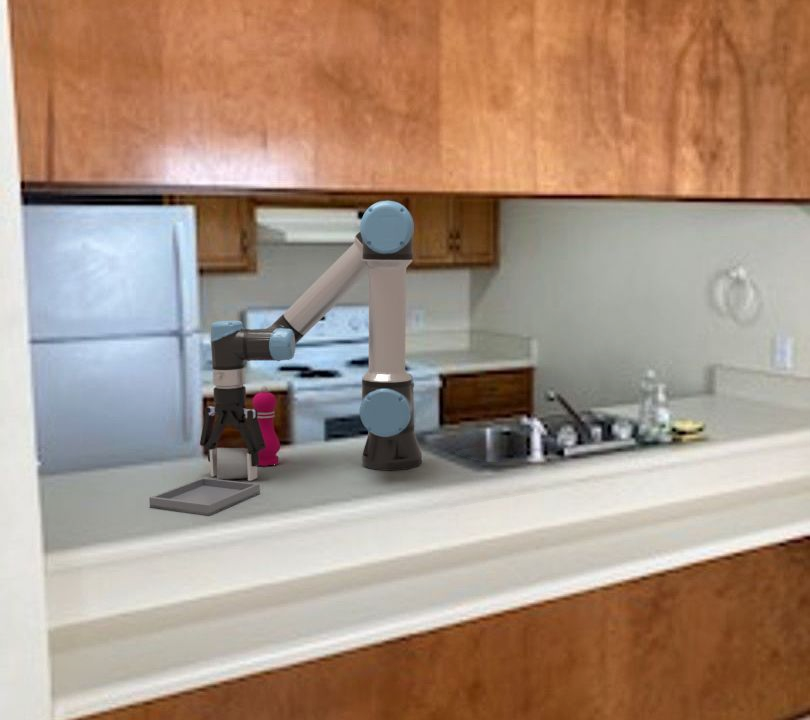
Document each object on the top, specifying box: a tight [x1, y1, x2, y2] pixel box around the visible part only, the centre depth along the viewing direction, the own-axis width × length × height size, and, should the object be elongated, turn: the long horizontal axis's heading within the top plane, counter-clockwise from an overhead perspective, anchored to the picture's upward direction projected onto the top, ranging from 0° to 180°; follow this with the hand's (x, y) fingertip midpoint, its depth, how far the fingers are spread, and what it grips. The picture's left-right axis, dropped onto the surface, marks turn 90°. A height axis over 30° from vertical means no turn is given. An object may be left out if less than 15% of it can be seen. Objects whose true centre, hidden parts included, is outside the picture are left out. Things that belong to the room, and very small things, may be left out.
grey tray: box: [148, 477, 261, 516], centre depth 201 cm, size 16×18×2 cm
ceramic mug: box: [216, 447, 249, 481], centre depth 221 cm, size 11×8×8 cm
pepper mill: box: [252, 385, 281, 467], centre depth 233 cm, size 7×7×20 cm
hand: (233, 477), depth 220 cm, fingers closed on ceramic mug, 10 cm apart
